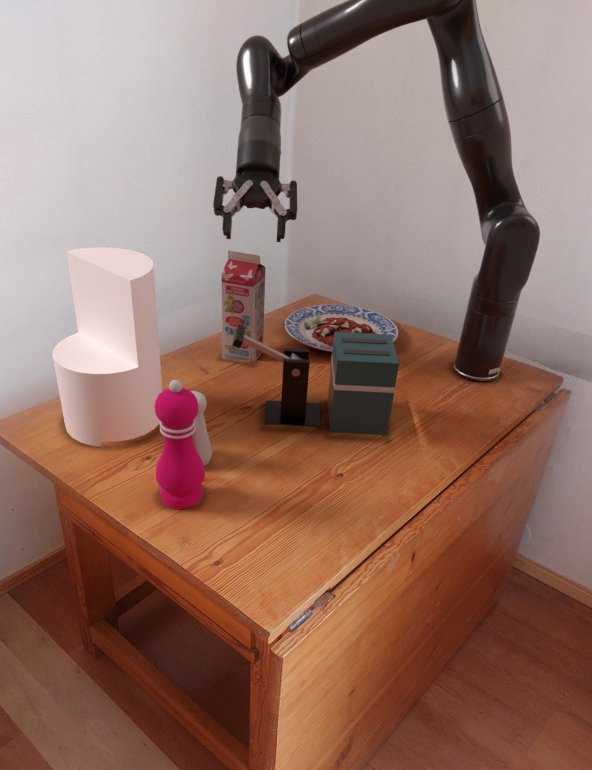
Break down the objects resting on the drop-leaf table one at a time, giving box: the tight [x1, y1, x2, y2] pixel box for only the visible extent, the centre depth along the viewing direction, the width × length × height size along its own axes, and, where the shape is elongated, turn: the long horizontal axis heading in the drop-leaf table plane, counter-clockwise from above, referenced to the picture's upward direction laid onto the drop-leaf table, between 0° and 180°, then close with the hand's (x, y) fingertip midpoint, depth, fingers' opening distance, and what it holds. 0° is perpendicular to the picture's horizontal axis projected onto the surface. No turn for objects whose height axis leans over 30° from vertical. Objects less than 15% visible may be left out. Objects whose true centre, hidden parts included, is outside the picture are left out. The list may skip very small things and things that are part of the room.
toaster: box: [327, 332, 400, 436], centre depth 112 cm, size 10×11×15 cm
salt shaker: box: [190, 390, 213, 467], centre depth 100 cm, size 6×6×13 cm
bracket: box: [263, 347, 322, 428], centre depth 112 cm, size 10×8×13 cm
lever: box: [232, 324, 306, 363], centre depth 108 cm, size 13×6×2 cm, turn 90°
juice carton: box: [221, 250, 266, 362], centre depth 130 cm, size 7×7×22 cm
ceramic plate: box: [284, 304, 399, 353], centre depth 145 cm, size 26×26×3 cm
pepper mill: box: [155, 379, 206, 510], centre depth 91 cm, size 7×7×20 cm
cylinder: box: [52, 246, 164, 448], centre depth 105 cm, size 17×17×28 cm
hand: (253, 238), depth 108 cm, fingers open, 8 cm apart
